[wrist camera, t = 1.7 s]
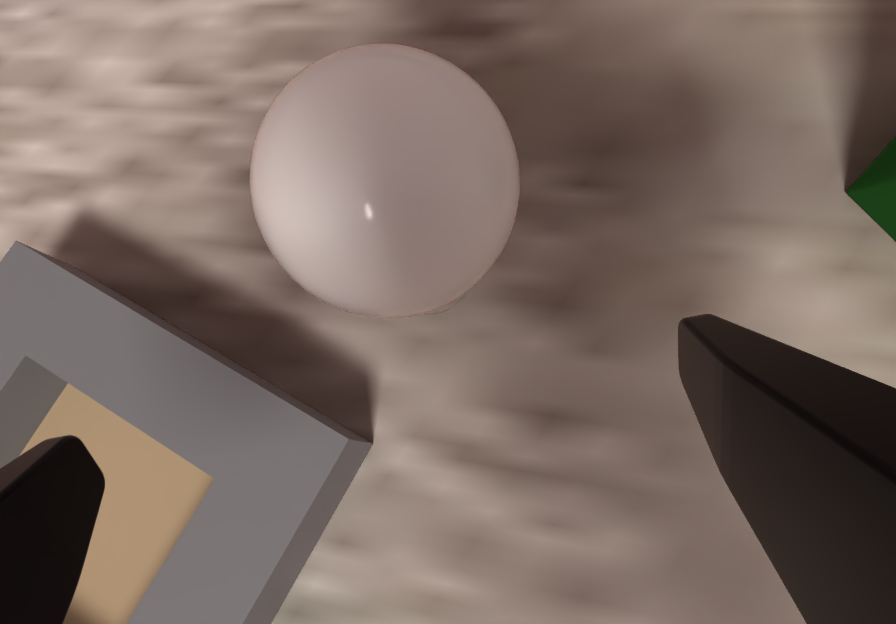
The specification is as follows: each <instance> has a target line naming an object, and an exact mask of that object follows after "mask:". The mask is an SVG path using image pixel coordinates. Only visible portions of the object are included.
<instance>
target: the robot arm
mask: <svg viewBox="0 0 896 624" xmlns="http://www.w3.org/2000/svg"><path fill="white" fill-rule="evenodd" d="M678 361H679V373H680V378H681V381H682V384H683V386H684V389H685V391H686V393H687V396H688V398H689V400H690V403H691V405H692V407H693V410H694V412H695V415H696V417H697V419H698V422H699V424H700V426H701V429H702V431H703V434H704V436H705V438H706V441H707V443H708V445H709V448H710V450H711V452H712V455H713V457H714V459H715V462H716V464H717V466H718V468H719V471H720V473H721V475H722V476H723V478H724V480H725V482H726V484H727V486H728V488H729V489H730V491H731V493H732V495H733V496H734V498H735V500H736V502H737V503H738V505H739V507H740V509H741V510H742V512H743V514H744V516H745V517H746V519H747V521H748V522H749V524H750V526H751V528H752V529H753V531H754V533H755V535H756V536H757V538H758V540H759V542H760V543H761V545H762V547H763V549H764V550H765V552H766V554H767V556H768V557H769V559H770V561H771V562H772V564H773V566H774V568H775V569H776V571H777V573H778V575H779V576H780V578H781V580H782V582H783V583H784V585H785V587H786V589H787V590H788V592H789V594H790V596H791V597H792V599H793V601H794V602H795V604H796V606H797V608H798V609H799V611H800V613H801V615H802V616H803V618H804V620H805V622H806V623H807V624H896V388H894V387H891V386H889V385H886V384H884V383H881V382H879V381H876V380H874V379H871V378H869V377H866V376H864V375H861V374H859V373H856V372H854V371H851V370H849V369H846V368H844V367H841V366H839V365H836V364H834V363H831V362H829V361H826V360H824V359H821V358H819V357H816V356H814V355H811V354H809V353H806V352H804V351H801V350H799V349H796V348H794V347H792V346H789V345H787V344H784V343H782V342H779V341H777V340H774V339H772V338H769V337H767V336H764V335H762V334H759V333H757V332H754V331H752V330H749V329H747V328H744V327H742V326H739V325H737V324H734V323H732V322H729V321H727V320H724V319H722V318H719V317H717V316H714V315H711V314H703V315H698V316H693V317H688V318H684V319H682V320H681V321H680V322H679V325H678ZM104 490H105V478H104V475H103V472H102V471H101V469H100V468H99V466H98V465H97V463H96V462H95V460H94V459H93V457H92V455H91V454H90V452H89V451H88V449H87V448H86V446H85V445H84V443H83V442H82V441H81V440H80V439H79V438H78V437H76V436H73V435H66V436H61V437H55V438H50V439H46V440H44V441H42V442H40V443H39V444H37V445H36V446H34V447H33V448H31V449H29V450H28V451H26V452H25V453H23V454H22V455H20V456H19V457H17V458H16V459H14V460H12V461H11V462H9V463H8V464H6V465H5V466H3V467H2V468H0V624H63V623H64V620H65V617H66V615H67V612H68V610H69V607H70V605H71V602H72V599H73V597H74V594H75V591H76V588H77V585H78V582H79V579H80V576H81V573H82V569H83V566H84V562H85V559H86V555H87V552H88V548H89V544H90V541H91V537H92V534H93V530H94V526H95V523H96V519H97V516H98V512H99V508H100V505H101V501H102V498H103V494H104Z"/></svg>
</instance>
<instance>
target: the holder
mask: <svg viewBox="0 0 896 624" xmlns="http://www.w3.org/2000/svg"><path fill="white" fill-rule="evenodd" d="M66 435H73V436H76V437H78V438H79V439H80V440H81V441H82V442H83V443H84V445H85V446H86V448H87V449H88V451H89V452H90V454H91V455H92V457H93V459H94V460H95V462H96V463H97V465H98V466H99V468H100V469H101V471H102V472H103V475H104V478H105V490H104V494H103V498H102V501H101V505H100V508H99V512H98V516H97V519H96V523H95V526H94V530H93V534H92V537H91V541H90V544H89V548H88V552H87V555H86V559H85V562H84V566H83V569H82V573H81V576H80V579H79V582H78V585H77V588H76V591H75V594H74V597H73V599H72V602H71V605H70V607H69V610H68V612H67V615H66V617H65V620H64V623H63V624H271V622H272V621H273V619H274V617H275V615H276V614H277V612H278V610H279V608H280V607H281V605H282V603H283V601H284V599H285V598H286V596H287V594H288V592H289V591H290V589H291V587H292V585H293V584H294V582H295V580H296V578H297V577H298V575H299V573H300V571H301V570H302V568H303V566H304V564H305V563H306V561H307V559H308V557H309V555H310V554H311V552H312V550H313V548H314V547H315V545H316V543H317V541H318V540H319V538H320V536H321V534H322V533H323V531H324V529H325V527H326V526H327V524H328V522H329V520H330V518H331V517H332V515H333V513H334V511H335V510H336V508H337V506H338V504H339V503H340V501H341V499H342V497H343V496H344V494H345V492H346V490H347V489H348V487H349V485H350V483H351V482H352V480H353V478H354V476H355V474H356V473H357V471H358V469H359V467H360V466H361V464H362V462H363V460H364V459H365V457H366V455H367V453H368V452H369V450H370V448H371V446H372V445H373V444H372V443H370V442H369V441H367V440H365V439H364V438H362V437H360V436H359V435H357V434H355V433H354V432H352V431H350V430H349V429H347V428H345V427H343V426H342V425H340V424H338V423H337V422H335V421H333V420H332V419H330V418H328V417H327V416H325V415H323V414H322V413H320V412H318V411H316V410H315V409H313V408H311V407H310V406H308V405H306V404H305V403H303V402H301V401H300V400H298V399H296V398H294V397H293V396H291V395H289V394H288V393H286V392H284V391H283V390H281V389H279V388H278V387H276V386H274V385H273V384H271V383H269V382H267V381H266V380H264V379H262V378H261V377H259V376H257V375H256V374H254V373H252V372H251V371H249V370H247V369H246V368H244V367H242V366H240V365H239V364H237V363H235V362H234V361H232V360H230V359H229V358H227V357H225V356H224V355H222V354H220V353H219V352H217V351H215V350H213V349H212V348H210V347H208V346H207V345H205V344H203V343H202V342H200V341H198V340H197V339H195V338H193V337H192V336H190V335H188V334H186V333H185V332H183V331H181V330H180V329H178V328H176V327H175V326H173V325H171V324H170V323H168V322H166V321H164V320H163V319H161V318H159V317H158V316H156V315H154V314H153V313H151V312H149V311H148V310H146V309H144V308H143V307H141V306H139V305H137V304H136V303H134V302H132V301H131V300H129V299H127V298H126V297H124V296H122V295H121V294H119V293H117V292H116V291H114V290H112V289H110V288H109V287H107V286H105V285H104V284H102V283H100V282H99V281H97V280H95V279H94V278H92V277H90V276H89V275H87V274H85V273H83V272H82V271H80V270H78V269H77V268H75V267H72V266H70V265H68V264H66V263H64V262H62V261H59V260H57V259H55V258H53V257H51V256H49V255H46V254H44V253H42V252H40V251H38V250H35V249H33V248H31V247H29V246H27V245H25V244H22V243H20V242H18V241H15V243H14V244H13V246H12V247H11V248H10V250H9V251H8V252H7V254H6V255H5V257H4V258H3V259H2V261H1V262H0V468H2V467H3V466H5V465H6V464H8V463H9V462H11V461H12V460H14V459H16V458H17V457H19V456H20V455H22V454H23V453H25V452H26V451H28V450H29V449H31V448H33V447H34V446H36V445H37V444H39V443H40V442H42V441H44V440H46V439H50V438H55V437H61V436H66Z"/></svg>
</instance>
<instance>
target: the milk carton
mask: <svg viewBox="0 0 896 624" xmlns="http://www.w3.org/2000/svg"><path fill="white" fill-rule="evenodd" d="M846 193H847V194H848V195H849V196H850V197H851V198H852V199H853V200H854V201H855V202H856V203H857V204H858V205H859V206H860V207H861V208H862V209H863V210H864V211H865V212H867V213H868V214H869V215H870V216H871V217H872V218H873V219H874V220H875V221H876V222H877V223H878V224H879V225H880V226H881V227H882V228H883V229H884V230H885V231H886V232H887V233H888V234H889V235H890V236H891V237H892V238H893V239H894V240H895V241H896V136H895V138H894V139H893V140H892V141H891V142H890V143H889V144H888V145H887V147H886V148H885V149H884V150H883V151H882V152H881V153H880V155H879V156H878V157H877V158H876V159H875V160H874V161H873V162H872V164H871V165H870V166H869V167H868V168H867V169H866V170H865V171H864V173H863V174H862V175H861V176H860V177H859V178H858V179H857V180H856V182H855V183H854V184H853V185H852V186H851V187H850V188H849V189H848V190H847V192H846Z"/></svg>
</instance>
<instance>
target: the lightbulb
mask: <svg viewBox="0 0 896 624" xmlns="http://www.w3.org/2000/svg"><path fill="white" fill-rule="evenodd" d="M250 193H251V200H252V206H253V210H254V214H255V218H256V221H257V224H258V227H259V230H260V232H261V234H262V237H263V239H264V241H265V243H266V245H267V246H268V248H269V250H270V251H271V253H272V255H273V256H274V258H275V259H276V260H277V262H278V263H279V264H280V266H281V267H282V268H283V269H284V270H285V272H286V273H287V274H288V275H289V276H290V277H291V278H292V279H293V280H294V281H295V282H296V283H297V284H299V285H300V286H301V287H302V288H303V289H305V290H306V291H307V292H309V293H310V294H311V295H313V296H314V297H316V298H318V299H319V300H321V301H323V302H325V303H327V304H329V305H331V306H333V307H335V308H338V309H340V310H343V311H346V312H349V313H353V314H356V315H361V316H366V317H374V318H401V317H409V316H415V315H419V314H435V313H440V312H443V311H446V310H448V309H449V308H451V307H452V306H454V305H455V304H456V303H457V302H458V301H459V300H460V299H461V297H462V296H463V294H465V293H466V292H467V291H469V290H470V289H471V288H472V287H473V286H475V285H476V284H477V283H478V282H479V281H480V280H481V279H482V278H483V277H484V276H485V275H486V274H487V272H488V271H489V270H490V269H491V268H492V266H493V265H494V263H495V262H496V261H497V259H498V258H499V256H500V254H501V253H502V251H503V249H504V247H505V245H506V243H507V241H508V239H509V237H510V234H511V232H512V229H513V226H514V222H515V219H516V215H517V210H518V204H519V196H520V171H519V163H518V157H517V152H516V148H515V144H514V141H513V138H512V135H511V133H510V130H509V128H508V125H507V123H506V121H505V119H504V117H503V116H502V114H501V112H500V110H499V109H498V107H497V106H496V104H495V103H494V101H493V100H492V99H491V97H490V96H489V95H488V94H487V92H486V91H485V90H484V89H483V88H482V87H481V86H480V85H479V84H478V83H477V82H476V81H475V80H474V79H473V78H472V77H471V76H469V75H468V74H467V73H466V72H464V71H463V70H462V69H460V68H459V67H457V66H456V65H454V64H453V63H451V62H449V61H448V60H446V59H444V58H442V57H440V56H438V55H435V54H433V53H431V52H428V51H425V50H422V49H419V48H415V47H411V46H406V45H399V44H388V43H377V44H365V45H359V46H354V47H350V48H346V49H343V50H339V51H337V52H334V53H331V54H329V55H327V56H325V57H323V58H321V59H319V60H317V61H315V62H314V63H312V64H311V65H309V66H308V67H306V68H305V69H303V70H302V71H301V72H300V73H298V74H297V75H296V76H295V77H294V78H293V79H292V80H290V81H289V83H288V84H287V85H286V86H285V87H284V88H283V89H282V90H281V91H280V93H279V94H278V95H277V97H276V98H275V99H274V101H273V102H272V104H271V105H270V107H269V109H268V110H267V112H266V114H265V116H264V118H263V120H262V122H261V124H260V127H259V129H258V132H257V135H256V138H255V142H254V146H253V150H252V156H251V163H250Z"/></svg>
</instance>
